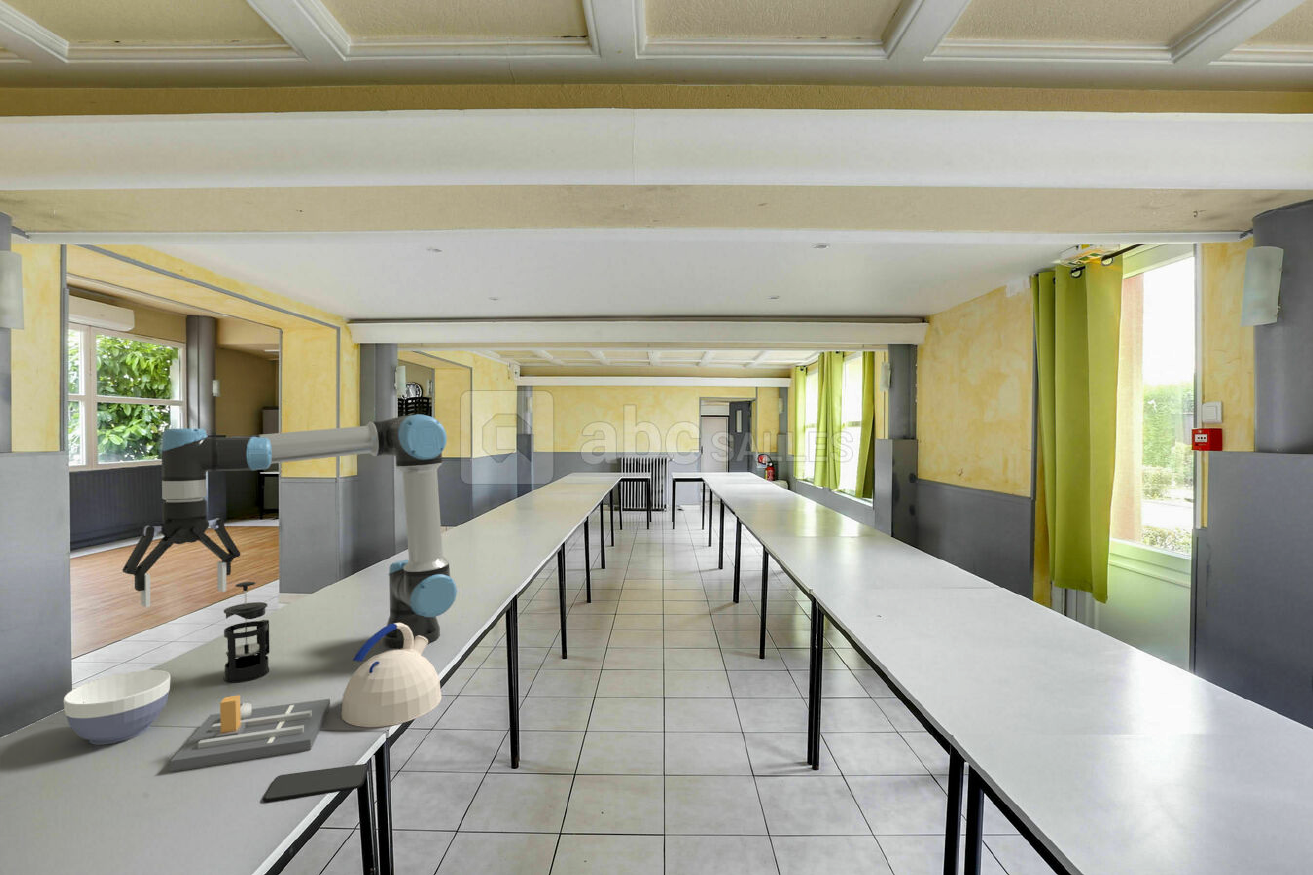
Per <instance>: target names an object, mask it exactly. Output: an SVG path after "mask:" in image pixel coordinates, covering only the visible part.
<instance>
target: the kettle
mask: <svg viewBox="0 0 1313 875" xmlns="http://www.w3.org/2000/svg"><path fill="white" fill-rule="evenodd" d="M395 629H400V630H401V631H402V633H403V636H404V645H403V648H400V649H391V650H386V651H383V652H381V653H379V654H376V655H373V656H372V657H370V658H369V659H368V660H366V661H365V662H364V663H362V664H360V666H359V667H358V668H357V669H356V670H355V671H354V673H353V674H352V675H351V677H350V678H349V679H348V682H347V685H346V687H345V690H344V693H343V695H342V696H343V697H342V703H341V704H342V705H341V712H340V714H341V718H342V720H343V721H344V722H346V723H347V724H348V725H352V726H354V727H358V728H385V727H390V726H397V725H400V724H404V723H408V722H411V721H413V720H415V719H418V718H421V717H423V716H425V715H426V714H428V713H430V712H431V711H433V710H434V709H435V708H436V707H437V706H438V705H439V704H440V702H441V700H442V693H441V692H442V691H441V683H440V677H439V674H438V672H437V670H436V669H435V667H434V665H433V664H432V663H431V662H430V661H429V660H428V659H427V658H426V657H425V656H423V655H422V654H423V652H424V651H425V649H426V647H427V645H428V644H429V643H428V640H427V639H426V638H425V637H423V636H420V635H418V636H416V637H415V640H414V637H413V634H412V631H411V630H410V628H409V627H408V626H407V625H405V624H403V623H394V624H390V625H388V626H387V625H386V626H385V627H384V626H383V628H381V629H379V630H378V631H377V632H376V633H374V634H372V636H371V637H369V639H367V640H366V641H365V643H363V645H362V646H361V647H360V648H359V649H358V651H357V653H356V654H355V655H354V657H353V658H352V661H354V662H362V661H364V660H365V658H366V656H367V655H368V653H369V652H370V650H371V649H372V648H374V646H375V645H376V644H377V643H378V642H379V641H380V640H381V639H382V638H384V636H385V635H386V634H388V633H389V632H391V631H393V630H395Z"/></svg>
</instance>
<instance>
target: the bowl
mask: <svg viewBox="0 0 1313 875" xmlns="http://www.w3.org/2000/svg"><path fill="white" fill-rule="evenodd" d="M170 690H171V673H169V672H168V671H166V670H160V669H144V670H136V671H127V672H123V673H120V674H119V673H118V674H114V675H109V676H105V677H103V678H99V679H96V680H93V681H90V682H87V683H85V684H82V685H80V686H78V687H76V688H74V689H72V690H70V691H69V692H68V693H66V695H65V696H64V698H63V708H64V714H65V715H66V716H65V717H66V719H67V722H68V725H69V727H70V728H71V729H72V731H73V732H74V733H75V734H76V735H77V736H78V737H80V738H83V739H85V740H87V741H88V742H89V743H90V744H91V745H95V746H97V745H98V746H102V745H103V746H104V745H110V744H111V745H112V744H116V743H117V744H118V743H121V742H124V741H126V740H130V739H133V738H135V737H137V736H139V735H142V734H143V733H145V732H146V731H147V730H149V729H150V727H151V724H152V723H153V722H154V721H156V720H157V718H158V717H159V716H160V715H161V713H162V711H163V710H164V707H165V706H166V704H167V703H168V698H169V694H170ZM83 702H84V703H83Z"/></svg>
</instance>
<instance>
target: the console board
mask: <svg viewBox="0 0 1313 875" xmlns="http://www.w3.org/2000/svg"><path fill="white" fill-rule="evenodd" d="M330 709H331V699H330V698H324V699H317V700H309V701H302V702H296V703H287V704H281V705H274V706H267V707H265V706H264V707H258V708H253V707H252V704H251V703H249V702H248V703H247V702H243V703H240V711H241V723H242V722H246V728H245V729H244V731H243V732H242V733H241V734H239V735H232V736H226V737H219V738H216V737H215V736H216V735H217V733H218V732H219V731H220V730H221V716H220V713H213V714H210V715H209V716H207V718H206V719H205V720H204V722H203V723H202V724H201V725H200V726H199V727H198V728H197V730H196V731H195V732H194V733H193V734H192V736H191V737H190V738H189V739H188V740H187V741H186V742H185V744H184V745H183V746H181V748H180V749H179V751H177V753H176V754H175V755H174V756H173V758H172V759H171V760H170V772H171V773H173V772H179V771H185V770H192V769H198V768H199V769H200V768H205V767H212V766H218V765H224V764H231V763H236V762H243V761H249V760H254V759H255V760H256V759H262V758H267V757H269V758H270V757H273V756H280V755H281V756H282V755H286V754H287V755H288V754H293V753H299V752H305V751H306V752H307V751H311V750H312V748H313V746H314V744H315V741H316V739H317V737H318V735H319V733H320V730H321V728H322V726H323V724H324V722H325V720H326V717H327V715H328V713H329V712H330Z"/></svg>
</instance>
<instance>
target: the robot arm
mask: <svg viewBox="0 0 1313 875" xmlns="http://www.w3.org/2000/svg"><path fill="white" fill-rule="evenodd" d="M161 437H162V438H161V477H162V478H161V480H162V481H161V487H162V488H161V490H162V491H161V495H162V496H161V499H163V500H165V501H163V503H162V504H161V513H162V514H161V515H162V516H161V517H162V518H161V520H162V522H161V525H159V526H158V525H157V526H156V525H154V526H153V525H148V524H147V525H144V526H143V527H142V531H141V537H140V539H139V541H138V542H137V544H136V546H135V547H134V549H133V550H132V553H131V554H130V556H129V557H128V559H127V561H126V562H125V564H124V566H123V568H122V572H123V573H125V574H127V575H133V576H134V589H135V591H137V592H140V605H141V606H142V607H144V608H149V607H151V574H149V573H147V572H149V571H150V569H151V568H152V567H153V566H154V564H155V563H156V562H157V561H158V560H159V559H160V558H161V557H162V556H163V555H164V554H165V553H166V552H167V550H168V549H170V548H171V547H172V546H173V545H174V544H176V545H183V544H185V543H190V544H191V543H192V544H193V543H196V542H197V541H198V542H200V543H201V544H203V546H205V547H206V548H207V549H208V550H210V551H211V552H212V554H214V555H215V556H216V557H218V558H219V559H220V560H219V561H216V590H217V591H218V592H221V593H225V592H227V576H230V575H231V574H232V573H231V572H232V570H231V569H232V566H231V565H232V562H233V561H234V559H236V558H240V557H241V555H242V554H241V551H239V548H238V547H237V546H236V544H235V543H234V541H233V539H232V538H231V536H230V534H229V533H228V531H227V529H226V527H225V520H224V519H223V518H218V517H216V518H213V519H211V520H208V518H207V515H208V514H207V510H208V509H207V508H208V507H207V506H208V505H207V504H208V502H207V500H206V499H204V498H206V497H207V496H208V495H207V491H208V490H207V472H223V471H224V472H226V471H227V472H228V471H229V472H231V471H253V472H254V471H257V470H258V471H259V470H267V469H269V468H270V467H271V465H272V464H281V463H288V462H289V463H291V462H300V461H308V460H310V461H311V460H319V459H325V458H326V459H327V458H339V457H346V456H355V455H357V456H358V455H364V454H369V455H371V456H373V457H378V456H394V457H395V468H397V469H399V471H400V472H401V473H402V478H403V479H402V480H403V492H404V509H405V521H406V522H405V523H406V534H407V535H406V536H407V537H406V538H407V549H408V550H407V552H408V559H401V560H398V561H394V562H392V563H391V564H390V565H389V573H388V576H389V580H388V581H389V618H388V620H387V622H386V626H388V625H390V624H394V623H403V624H405V625H407V626H408V627H409V628H410V630H411V631H412V634H413V637H414V640H415V637H416V636H418V635H420V636H423V637H425V638H426V639H427V640H428V644H429V643H432V642H434V641H436V640H437V639H439V637H440V636H441V628H440V625H439V620H438V619H437V617H439V616H441V615H443V614H445V613H446V612H447V611H448V610H449V609H450V608H451V607H452V606H453V604H454V603H455V601H456V599H457V595H458V589H457V585H456V583H455V580H454V579H453V578H452V577H451V571H450V570H451V569H450V561H449V560H448V559H447V558H446V557H444V555H443V554H444V553H443V542H442V541H443V540H442V525H441V512H440V511H441V509H440V499H439V498H440V496H439V495H440V494H439V480H438V469H439V467H441V465H443V452H444V450H445V448H446V444H447V438H448V437H447V432H446V430H445V427H444V426H443V424H442V423H441V422H440V421H439V420H437V419H436V418H434V417H432V416H429V415H425V414H412V415H411V414H410V415H402V416H397V417H393V418H389V419H384V420H377V421H370V422H368V423H367V424H366V425H362V426H351V427H350V426H349V427H347V426H346V427H337V428H335V427H334V428H326V429H325V428H324V429H311V430H302V431H301V430H300V431H288V432H278V433H277V432H275V433H264V434H258V435H257V434H255V435H253V434H252V435H241V436H239V435H237V436H235V435H234V436H227V437H226V436H225V437H211V436H208V435H207V431H206V429H204V428H168V429H166V430H164V431H163V432H162V436H161ZM209 527H210V528H211V529H212V530H214V532H215V534H216V535H217V536H218V538H219V541H221V543H222V544H223V546H224V547H225V550H226V551H227V552H226V551H225V550H224V549H223V548H221V547H220V546H219V545H218V544H217V543H216V542H215V541H213V540H212V539H211V537H209V536H208V534H206V533H205V532H206V531H207V530H208V528H209ZM158 533H161V534H162V535H163V537H162V538H161V539H160V540H159V542H158V544H157V545H156V546H155V547H154V548H153V549H152V550H151V551H150V552H149V554H148V555H147V556H146V557H145V558H144V559H143V560H142V558H143V557H144V555H145V554H146V552H147V550H148V548H149V547H150V545H151V543H152V541H153V539H154V537H157V535H158ZM383 644H384V645H385V646H387V647H389V648H390V647H391V648H400V649H401V648H402V649H403V645H404V636H403V633H402V631H401V630H400V629H395V630H393V631H391V632H389V633H388V634H386V635H385V636H384V637H383Z"/></svg>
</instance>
